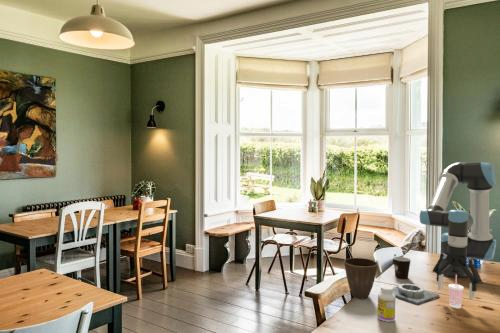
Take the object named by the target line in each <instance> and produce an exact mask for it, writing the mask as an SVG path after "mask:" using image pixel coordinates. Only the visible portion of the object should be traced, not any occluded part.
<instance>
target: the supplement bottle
mask: <svg viewBox="0 0 500 333" xmlns="http://www.w3.org/2000/svg"><path fill="white" fill-rule="evenodd" d="M393 288H394V287H393V286H390V285H381V286H380V292H378V294H377V318H378V319H379V320H380V321H381V320H382V321H381V322H385V321H386V323H391V322H395V319H396V297H395V295H394V294H393Z"/></svg>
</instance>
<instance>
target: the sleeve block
mask: <svg viewBox="0 0 500 333" xmlns="http://www.w3.org/2000/svg"><path fill="white" fill-rule="evenodd" d="M393 294H394V295H395V297H396V298H397V299H399V300H402V301H406V302H408V303H411V304H414V305H417V306H418V305H421V304H424V303H427V302H430V301H432V300H436V299H439V298H440V294H439V293H438V294H437V293H435V292H431V291H427V290H425V289H424V288H423V287H422V286H420V285H417V284H412V283H401V284H398V286H394V287H393Z"/></svg>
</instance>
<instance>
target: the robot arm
mask: <svg viewBox="0 0 500 333" xmlns="http://www.w3.org/2000/svg"><path fill="white" fill-rule="evenodd" d="M496 183H497V176H496V170H495V165H494V164H493V163H490V162H483V161H479V162H478V161H466V162H465V161H458V162H454V163H452V164H450V165H448V166H447V167H446V168H444V169H443V170H442V171H441V172H440V174H439V177H438V184H437V185H436V186H437V187H436V189H435V191H434V194H433V196H432V198H431V200H430V202H429V205H428V208H422V209H421V210H420V212H419V222H420V223H421V225H424V226H430V227H431V226H432V227H441V228H442V227H443V228H447V230H448V232H444V233H442V234H441V236H440V254H439V259H438V261H437V263H436V264H435V265H434V267H433V269H432V272H433V273H435V274H436V281H437V282H438V283H437V284H438V286H437V289H438V290H439V291H440V290H443V289H444V276H447V277H452V278H456V275H457V278H465V277H467V278H468V279H469V281H470V283H469V292H468V293H469V295H468V296H469V298H468V299H470V300H472V299H474V298H475V292H477V289H478V287H477V286H478V284H481V283H483V281H482V279H481V276H480V273H479V271H478V269H477V267H476V264H475V263H476V262H475V260H479V261H487V262H490V261H493V259H494V256H495V251H496V247H497V240H496V239H494V238H493V235H492V233H490V191H491V190H492V189H493V186H496ZM459 184H461V185H466V188H467V190H469V195H470V196H469V199H470V200H469V201H470V203H469V204H470V205H469V206H470V208H469V209H470V213H469V212H468V210H463V209H462V210H461V209H450V210H449V211H447V210H446V209H447V208H448V205H449V202H450V200H451V197H452V195H453V192H454V189H455V188H456V187H457V186H458V185H459ZM469 229H470V232H468V230H469Z"/></svg>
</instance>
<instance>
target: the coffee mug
mask: <svg viewBox="0 0 500 333" xmlns="http://www.w3.org/2000/svg"><path fill="white" fill-rule="evenodd" d="M392 263H393V267H394V268H393V269H394V276H395V278H397V279H399V280H400V279H401V280H407V279H408V278H409V272H410V266H411V259H410V258H408V257H404V256H403V257H402V256H394V257H393V259H392Z"/></svg>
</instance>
